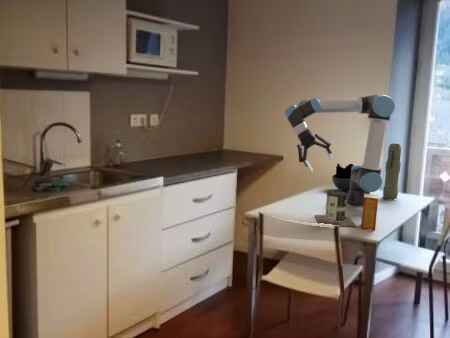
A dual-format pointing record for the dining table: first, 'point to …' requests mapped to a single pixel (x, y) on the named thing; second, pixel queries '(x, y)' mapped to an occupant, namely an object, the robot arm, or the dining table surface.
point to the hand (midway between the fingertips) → (322, 165)
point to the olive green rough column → (392, 172)
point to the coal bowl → (342, 177)
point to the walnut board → (347, 222)
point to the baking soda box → (369, 211)
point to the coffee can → (336, 206)
